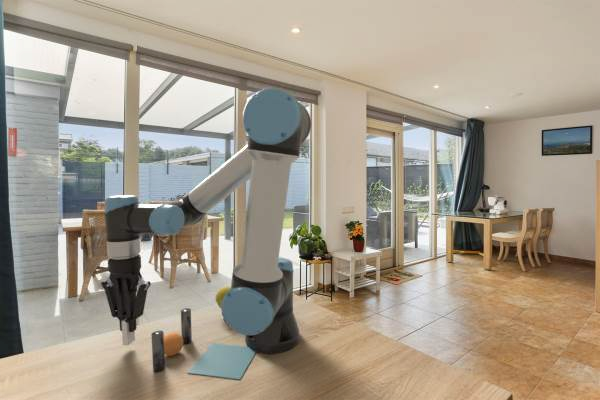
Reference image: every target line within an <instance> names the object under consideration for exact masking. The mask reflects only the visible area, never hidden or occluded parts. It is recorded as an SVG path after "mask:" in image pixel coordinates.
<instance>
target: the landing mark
mask: <svg viewBox="0 0 600 400" xmlns="http://www.w3.org/2000/svg"><path fill="white" fill-rule="evenodd" d="M256 353H257V351H254V350H252V349H250V348H249V347H248V346H242V345H235V344H233V345H232V344H225V343H214V342H212V343H211V344H210V345H209V347H208V348H207V349H206V350H205V351H204V352H203V354H202V355H201V356H200V357H199V358H198V360H197V361H196V362H195V363H194V364H193V366H191V368H189V370H188V371H187V374H189V375H198V376H203V377H205V376H206V377H214V378H220V379H221V378H222V379H228V380H229V379H230V380H238V381H241V379H242V378H243V376H244V374H245V372H246V371H247V369H248V368H249V365H250V364H251V362H252V360H253V359H254V356H255V354H256Z"/></svg>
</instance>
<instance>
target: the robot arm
mask: <svg viewBox="0 0 600 400" xmlns="http://www.w3.org/2000/svg"><path fill="white" fill-rule="evenodd" d="M242 124H243V128H244V130H245V132H246V133H247V136H248V137H247V144H246V145H245V146H243V148H241V149H240V150H239V151H238V152H236V153H235V154H234V155H233V156H232V157H230V158H229V159H228V160H227V161H225V162H224V163H223V164H222V165H220V166H219V167H218V168H217V169H216V170H214V171H213V172H212V173H211V174H210V175H209V176H208V177H206V178H205V179H204V180H202V181H201V182H200V183H198V184H197V185H196V186H195V187H194V188H193V189H192V190H191V191H189V192H188V193H187V194H186V195H184V196H183V197H182V198H180V199H179V200H175V201H170V202H162V203H155V204H153V203H152V204H151V203H149V204H148V203H147V204H143V203H140V202H139V198H138V196H136V195H133V194H132V195H131V194H129V195H128V194H125V195H110V196H108V197H105V200H104V217H105V218H104V220H105V234H106V256H107V257H108V258H107V271H108V273H109V276H108V278H107V279H106V280H103V281H101V282H100V285H101V287H102V288H103V289H104V292H105V295H106V300H107V303H108V306H109V310H110V314H111V317H112V318H117V319H118V321H119V330H120V332H121V333H122V334H121V335H122V336H121V337H122V345H123V346H130V345H131V344H132V343H133V342H135V340H136V335H135V331H136V330H137V319H138V318H140V317H142V316H143V315H144V312H145V306H146V305H145V304H146V301H147V300H146V299H147V295H148V290H149V288H150V286H151V285H152V284H151V281H149V280H148V281H145V280H144V279H143V276H142V274H141V268H142V256H141V254H140V253H141V235H155V236H161V237H164V236H174V235H175V236H176V235H177V234H179V233H180V232H181V230H182V229H183V228H185V227H189V226H193V225H194V226H195V225H196V224H198V223H200V222H202V221H203V220H204V219H205V217H206V215H207V214H208V213H209V212H210V211H211V210H212V209H214V208H215V207H216V206H217V205H219V204H220V203H221V202H222V201H224V200H225V199H226V198H227V197H229V196H230V195H232V193H234V192H235V191H237V190H238V189H239V188H240V187H241V186H243V185H244V184H245V183H247V182H248V181H249V188H248V196H247V197H248V198H247V205H246V216H245V221H244V222H245V223H244V230H243V232H244V233H243V239H242V246H241V248H242V249H241V255H240V262H239V263H238V264H236V265H235V266H234V267H233V269H232V273H231V274H232V275H231V284H230V287H231V289H230V290H229V291H228V292H227V293H226V295H225V296H224V298H223V300H222V305H221V308H220V309H221V316H222V315H223V316H222V319H223V318H224V319H223V320H224V322H225V323H227V325H229V328H231V329H232V330H234V331H235V332H236V333H238V334H241V335H245V344H246V347H249V348H250V349H252V350H254V351H256V353H257V352H258V353H261V354H262V353H263V354H279V353H283V352H286V351H289V350H291V349H293V348H295V346H296V345H298V343H299V341H300V329H299V328H300V327H299V325H298V323H297V319H296V317H295V313H294V268H293V267H294V266H293V262H292V260H291V259H288V258H284V257H280V250H281V243H282V236H283V227H284V221H285V214H286V213H285V212H286V204H287V198H288V190H289V184H290V175H291V168H292V167H291V166H292V164H293V163H294V162H296V161H297V160H298V159H299V158H300V152H301V146H302V145H303V144H304V143H305V142H306V140H307V139H308V137H309V135H310V133H311V130H312V119H311V115H310V113H309V111H308V110H307V108H306V106H304V105H303V104H301V102H299V101H298V99H297V98H296V97H295V95H293V94H291V93H290V92H289V91H286V90H284V89H282V88H277V87H267V88H263V89H260V90H259V91H257V92H256V93H254V94H253V95H252V96H250V98H249V99H248V100H247V102H246V104H245V106H244V108H243V111H242Z"/></svg>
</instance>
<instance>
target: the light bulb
mask: <svg viewBox="0 0 600 400" xmlns="http://www.w3.org/2000/svg"><path fill="white" fill-rule="evenodd" d="M230 289H231V286H224V287H222V288H219V290H218V291H217V292H216V294H215V302H216V304H217V306H218V307H219V308H220V309H221V305H222V300H223V298H224V296H225V295H226V293H227V292H228V291H229V290H230ZM221 316H222V319H223V320H225V319H224V318H223V315H222V314H221Z"/></svg>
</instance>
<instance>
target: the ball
mask: <svg viewBox="0 0 600 400" xmlns="http://www.w3.org/2000/svg"><path fill="white" fill-rule="evenodd" d="M183 347H184V344H183V338H182V334H181V333H178V332H169V333H167V334H166V335H164V356H168V357H173V356H175V355H177V354H179V353H180V352H181V351H182V349H183Z"/></svg>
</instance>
